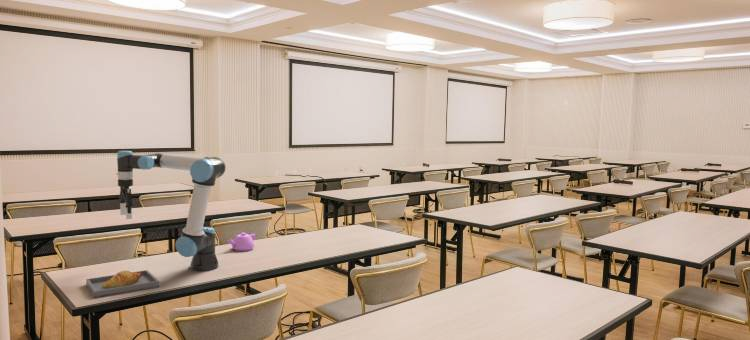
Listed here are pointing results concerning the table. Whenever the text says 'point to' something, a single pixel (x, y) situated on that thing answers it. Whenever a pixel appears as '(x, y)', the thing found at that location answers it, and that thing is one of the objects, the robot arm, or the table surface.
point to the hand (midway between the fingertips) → (126, 216)
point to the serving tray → (141, 284)
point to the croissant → (122, 279)
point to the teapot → (243, 242)
